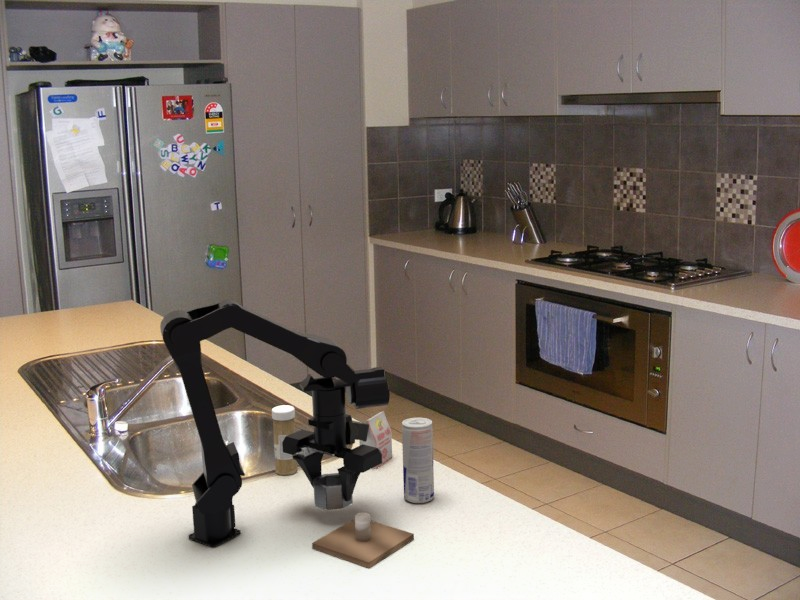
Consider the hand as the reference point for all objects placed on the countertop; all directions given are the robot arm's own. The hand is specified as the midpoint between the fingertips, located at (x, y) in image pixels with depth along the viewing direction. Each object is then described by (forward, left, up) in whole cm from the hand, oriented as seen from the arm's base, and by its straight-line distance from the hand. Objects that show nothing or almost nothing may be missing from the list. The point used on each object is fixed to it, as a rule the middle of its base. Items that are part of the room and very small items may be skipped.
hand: (333, 496), depth 162 cm
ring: (0, 0, -1) cm, 1 cm away
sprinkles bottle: (+11, +22, -4) cm, 25 cm away
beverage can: (+15, -8, -4) cm, 17 cm away
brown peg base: (-5, -11, -4) cm, 13 cm away
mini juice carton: (+25, +10, -4) cm, 27 cm away
